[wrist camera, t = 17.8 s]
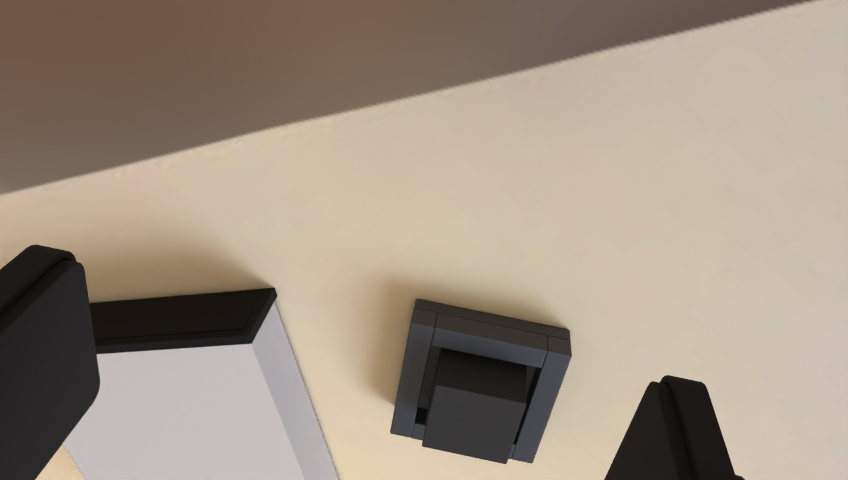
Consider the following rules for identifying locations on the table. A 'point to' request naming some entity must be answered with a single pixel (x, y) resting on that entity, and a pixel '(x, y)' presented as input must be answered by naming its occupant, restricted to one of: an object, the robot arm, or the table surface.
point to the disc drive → (198, 394)
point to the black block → (475, 405)
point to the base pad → (490, 338)
